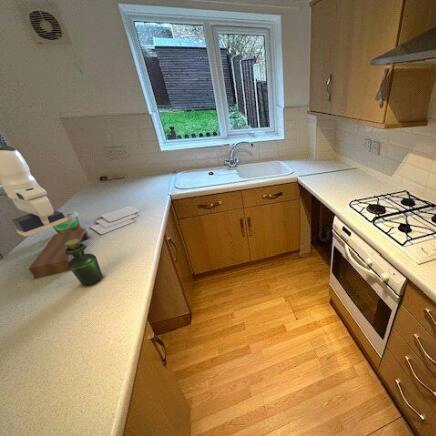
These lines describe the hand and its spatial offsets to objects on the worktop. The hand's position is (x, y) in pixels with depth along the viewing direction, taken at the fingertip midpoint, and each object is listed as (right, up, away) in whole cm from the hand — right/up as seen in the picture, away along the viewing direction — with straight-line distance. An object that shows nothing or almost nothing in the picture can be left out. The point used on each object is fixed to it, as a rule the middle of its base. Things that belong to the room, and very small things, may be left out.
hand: (41, 222), depth 96 cm
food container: (-15, -6, +28) cm, 32 cm away
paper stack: (0, +1, +41) cm, 41 cm away
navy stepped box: (0, -2, +1) cm, 2 cm away
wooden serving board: (-1, -15, +11) cm, 19 cm away
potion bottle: (+24, -23, -4) cm, 33 cm away
